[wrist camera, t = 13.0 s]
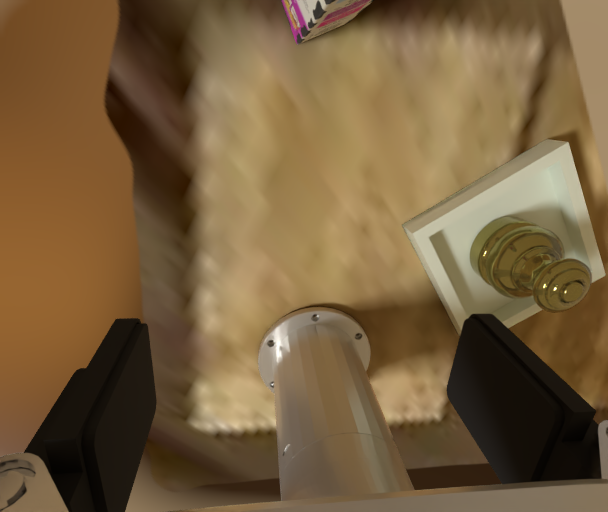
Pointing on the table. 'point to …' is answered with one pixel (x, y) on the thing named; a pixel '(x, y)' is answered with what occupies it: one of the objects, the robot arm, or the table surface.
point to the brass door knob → (529, 264)
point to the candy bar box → (320, 15)
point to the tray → (494, 205)
